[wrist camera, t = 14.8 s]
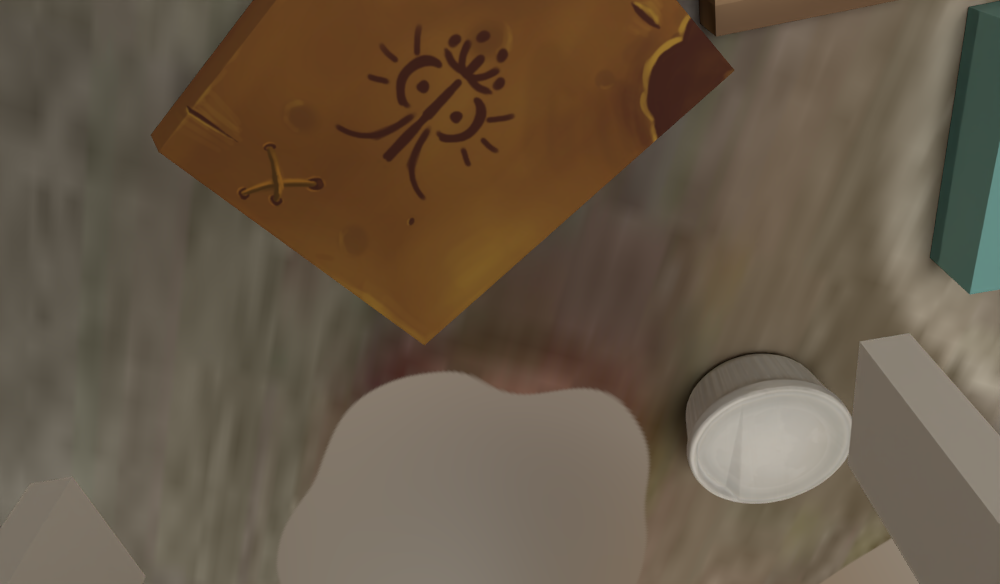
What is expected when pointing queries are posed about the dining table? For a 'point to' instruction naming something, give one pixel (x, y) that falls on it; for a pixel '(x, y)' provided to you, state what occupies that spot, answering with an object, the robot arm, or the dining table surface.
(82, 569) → the robot arm
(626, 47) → the diary
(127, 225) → the dining table surface
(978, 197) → the parts tray
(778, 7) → the socket
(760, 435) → the ramekin
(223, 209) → the dining table surface
